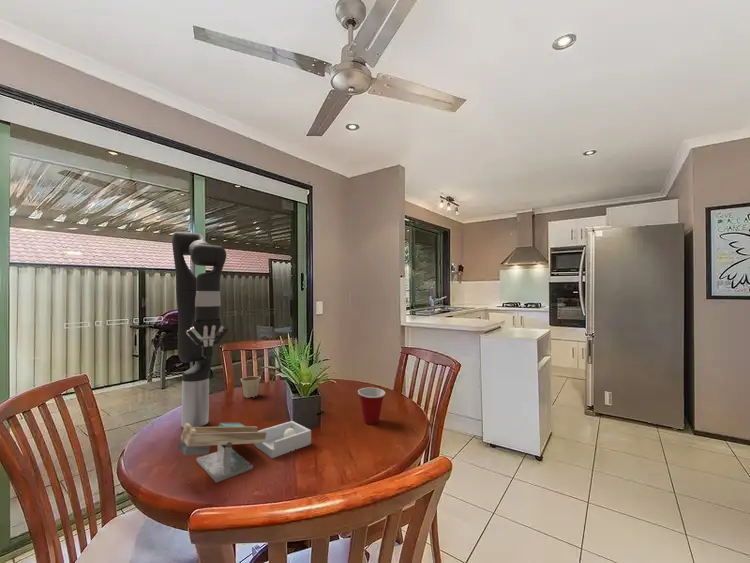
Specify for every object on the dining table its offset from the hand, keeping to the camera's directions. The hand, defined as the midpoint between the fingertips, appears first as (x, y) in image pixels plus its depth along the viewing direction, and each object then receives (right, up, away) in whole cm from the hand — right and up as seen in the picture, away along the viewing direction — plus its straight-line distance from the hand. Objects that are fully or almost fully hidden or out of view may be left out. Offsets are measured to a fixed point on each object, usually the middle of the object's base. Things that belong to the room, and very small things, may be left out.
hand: (206, 357), depth 111 cm
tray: (+25, -29, +1) cm, 38 cm away
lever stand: (+11, -29, -13) cm, 33 cm away
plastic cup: (+54, -30, +21) cm, 65 cm away
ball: (+27, -27, +3) cm, 38 cm away
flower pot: (-6, -32, +55) cm, 63 cm away
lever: (+7, -24, -9) cm, 26 cm away
